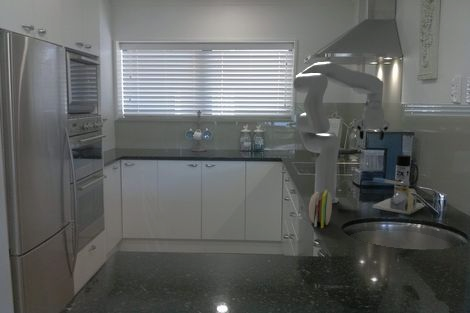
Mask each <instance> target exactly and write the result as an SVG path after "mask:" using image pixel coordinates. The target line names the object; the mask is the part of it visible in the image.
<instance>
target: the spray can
mask: <svg viewBox="0 0 470 313" xmlns="http://www.w3.org/2000/svg"><path fill="white" fill-rule="evenodd" d="M395 163H396V165H395V175H394V176H395V177H394V181H400V182H401V181H406V182H410V172H411V155H406V154H399V155H397V156H396V162H395ZM400 187H402V188H403V186H401V185H397V184H394V193H395V189H398V188H400ZM409 187H410V185H409V186H407V188H409ZM394 193H393V194H394Z"/></svg>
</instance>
